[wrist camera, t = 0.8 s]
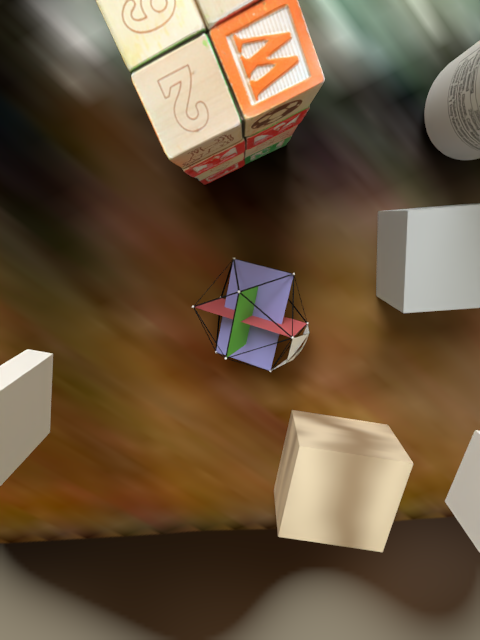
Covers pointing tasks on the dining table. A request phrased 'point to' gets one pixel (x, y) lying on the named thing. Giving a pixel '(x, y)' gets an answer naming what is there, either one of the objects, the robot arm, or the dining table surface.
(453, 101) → the energy drink can
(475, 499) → the robot arm
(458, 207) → the grey block
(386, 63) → the dining table surface
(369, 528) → the beech block
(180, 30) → the stack of blocks
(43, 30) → the dining table surface
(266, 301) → the geometric puzzle
